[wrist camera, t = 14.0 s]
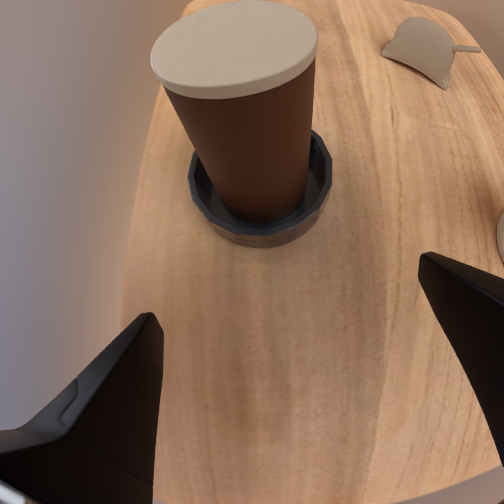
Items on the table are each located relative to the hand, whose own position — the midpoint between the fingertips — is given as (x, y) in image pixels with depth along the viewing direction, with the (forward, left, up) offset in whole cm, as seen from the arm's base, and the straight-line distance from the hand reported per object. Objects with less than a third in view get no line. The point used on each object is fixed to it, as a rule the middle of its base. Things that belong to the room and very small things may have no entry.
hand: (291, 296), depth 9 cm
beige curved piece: (+16, -19, -8) cm, 27 cm away
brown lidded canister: (+8, -1, -7) cm, 11 cm away
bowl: (+8, -1, -8) cm, 11 cm away
